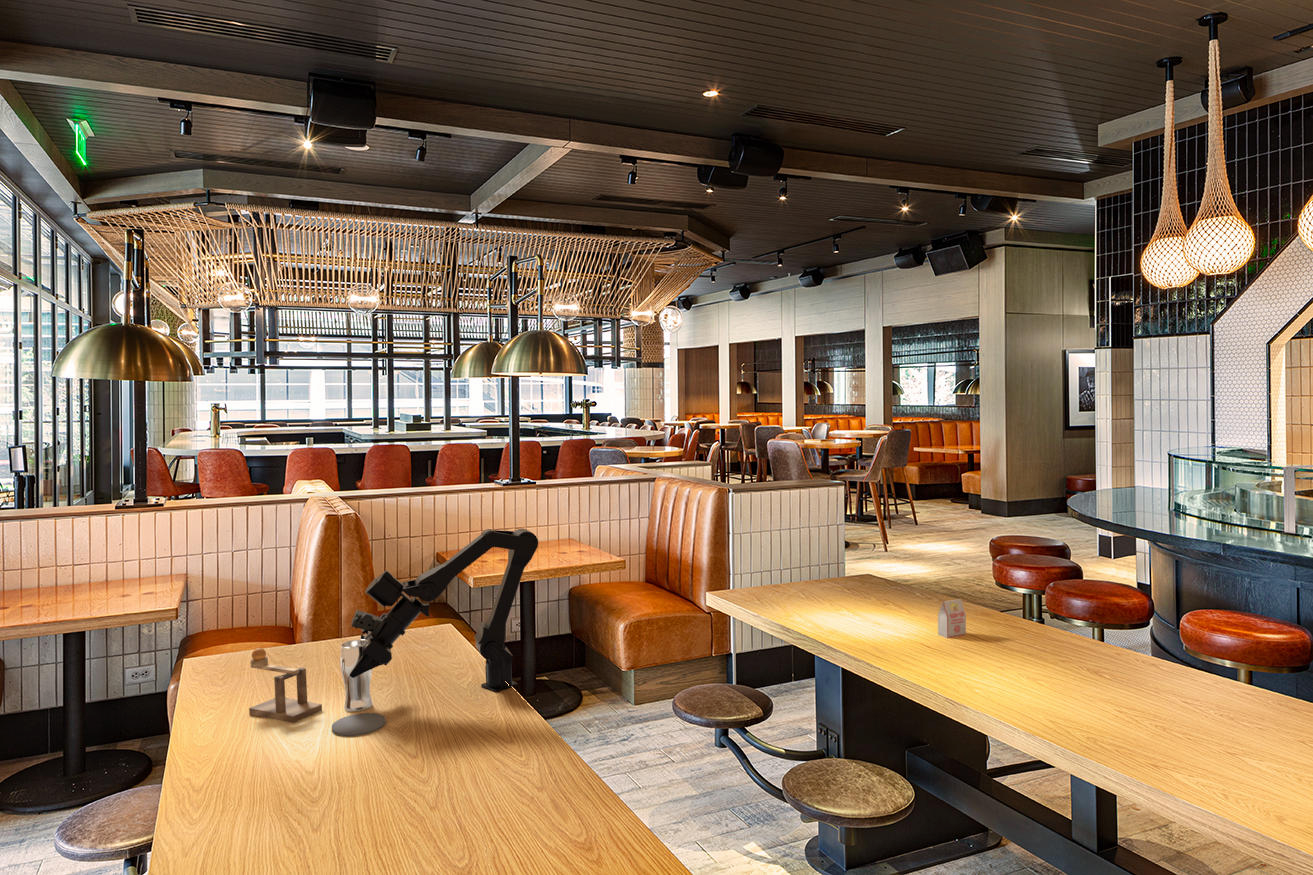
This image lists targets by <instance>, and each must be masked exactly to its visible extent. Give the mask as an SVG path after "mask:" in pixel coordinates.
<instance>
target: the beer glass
mask: <svg viewBox="0 0 1313 875" xmlns="http://www.w3.org/2000/svg"><path fill="white" fill-rule="evenodd" d="M367 641H368V640H366V639H361V638H359V639H358V638H357V639H351V640H346V641H345V642H342V643H341V644H340V655H339V656H340V659H339V660H340V671H341V676H342V682H343V684H344V690H345V691H344V692H345V701H344V710H345V711H347V712H350V713H351V712H352V713H353V712H355V713H356V712H362V711H366V710H368V709H370V708H372V706H373V701H372V698H371V696H372V695H371V690H370V689H371V681H372V673H373V669H371V670H369V671H366V672H364V673H362V674H360V675H358V676H356V677H354V678H352V677H350V673H351V671H352V670H353V668H354V667H355V665H356V664H357V662H358V661H359V659H360V658H361V656H362V654H363V651H362V646H365V644H366V642H367Z"/></svg>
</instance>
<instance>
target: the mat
mask: <svg viewBox="0 0 1313 875" xmlns="http://www.w3.org/2000/svg"><path fill="white" fill-rule="evenodd" d="M385 725H386V717H385V715H383V714H380V713H376V712H375V713H374V712H362V713H355V714H350V715H346V716H344V717H341V718H339V719H337V720H336V721H334V722H333V723H332V725H331V732H332V734H334V735H337V736H341V737H342V736H343V737H356V736H357V737H358V736H362V735H367V734H371V733H374V732H376V731H378V730H380V729H382V728H383V727H384V726H385Z"/></svg>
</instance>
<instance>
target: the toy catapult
mask: <svg viewBox="0 0 1313 875" xmlns="http://www.w3.org/2000/svg"><path fill="white" fill-rule="evenodd" d="M266 655H267V652H266V650H265V649H264V648H262V647H257V648H255V649H254V650H253V651H252V653H251V659H250V668H252V669H258V670H264V671H269V672H274V673H275V672H276V673H282V674H280V675H276V676H274V677H273V678H274V697H273V698H271V699H269V700H266V701H264V702H261V703H258V704H256V705H253V706H251V707H249V708H248V710H249V715H251V716H255V717H261V718H266V719H270V720H275V721H282V722H287V723H291V724H295V723H297V722H299V721H302V720H303V719H306V718H308V717H310V716H312V715H315V714H317V713H320V712H322V711H323V704H322V703H319V702H317V703H316V702H310V701H308V685H307V668H306V667H298V668H292V667H286V666H280V665H275V664H269V660H268V656H266ZM293 677H296V696H297V699H296V698H295V699H294V698H290V697H286V688H285V687H286V686H285V681H286V680H287V679H291V678H293Z"/></svg>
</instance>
